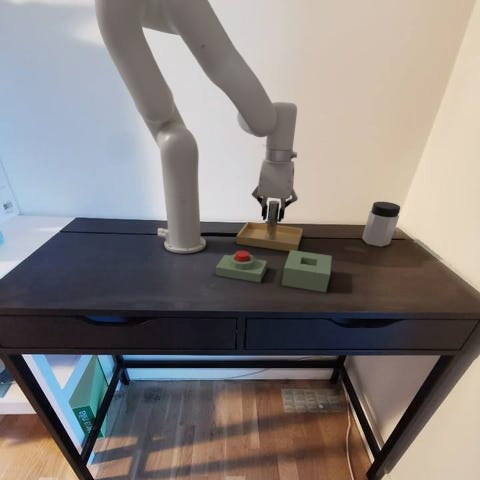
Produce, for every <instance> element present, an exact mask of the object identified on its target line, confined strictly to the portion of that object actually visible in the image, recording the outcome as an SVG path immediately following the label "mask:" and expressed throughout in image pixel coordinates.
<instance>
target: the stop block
mask: <svg viewBox="0 0 480 480" xmlns="http://www.w3.org/2000/svg"><path fill="white" fill-rule="evenodd" d="M235 254H236V253H234V254H233V253H232V254H231V255H229V254H224V255H223V257H222V258H221V259H220V260H219V262H218V263H217V265H216V266H215V276H219V277H224V278H231V279H236V280H243V281H249V282H254V283H261V282H262V280H263V277H264V275H265V273H266V271H267V266H268V260H263V259H256V258H255V256H254V255H251V254H250V253H249V261H247V262H238V261H236V260H235Z"/></svg>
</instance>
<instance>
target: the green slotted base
mask: <svg viewBox="0 0 480 480" xmlns="http://www.w3.org/2000/svg"><path fill="white" fill-rule="evenodd" d="M332 258H333V256H332V255H327V254H322V253H314V252H308V251H300V250H297V251H294V250H290V251H289V253H288V256H287V259H286V261H285V264H284V267H283V272H282V281H281V286H284V287H290V288H295V289H296V288H297V289H302V290H309V291H315V292H319V293H320V292H321V293H327V290H328V287H329V281H330V277H331V271H332V270H331V269H332Z"/></svg>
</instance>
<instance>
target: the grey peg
mask: <svg viewBox="0 0 480 480" xmlns="http://www.w3.org/2000/svg"><path fill="white" fill-rule="evenodd" d="M280 205H281V201H279V200H269V201H268V210H267V218H266V220H264V224H267V232H266V238H267V239H269V240H274V239H276V231H277V225H279V224H280V222H278V218H279V209H280Z"/></svg>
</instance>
